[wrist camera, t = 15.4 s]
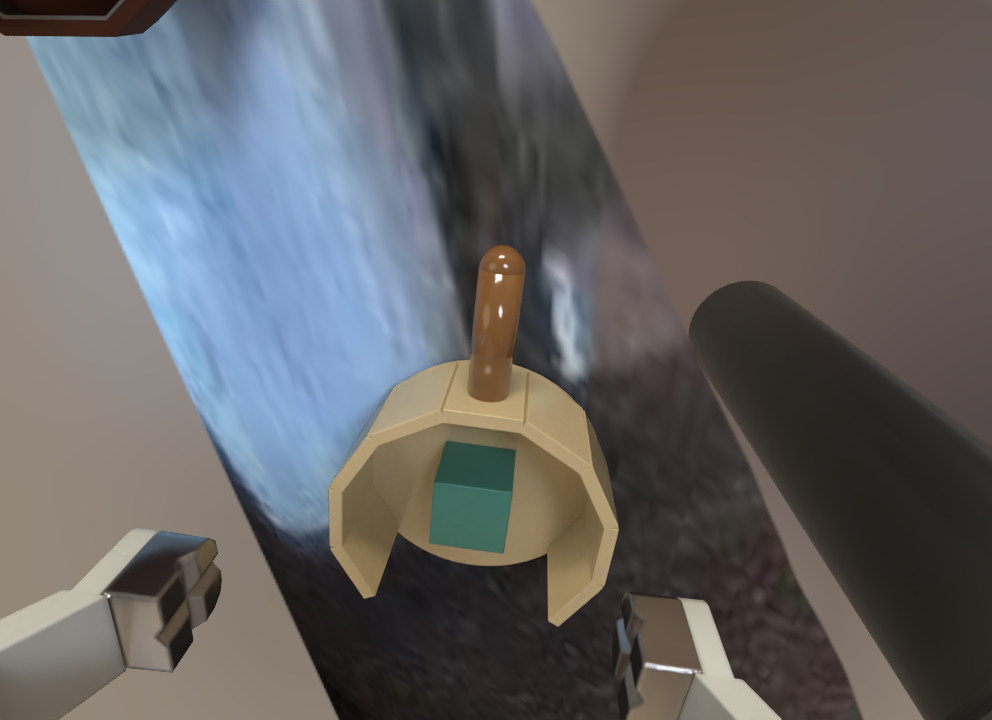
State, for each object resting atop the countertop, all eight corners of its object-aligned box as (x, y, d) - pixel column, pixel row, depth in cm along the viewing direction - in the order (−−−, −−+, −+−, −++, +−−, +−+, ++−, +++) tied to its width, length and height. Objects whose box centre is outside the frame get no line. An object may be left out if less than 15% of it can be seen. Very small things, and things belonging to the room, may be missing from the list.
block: (516, 449, 31) (512, 493, 27) (508, 506, 33) (503, 554, 29) (446, 439, 31) (433, 482, 27) (441, 496, 33) (428, 544, 29)
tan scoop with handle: (653, 247, 26) (682, 280, 21) (579, 573, 35) (586, 658, 29) (367, 211, 27) (322, 234, 21) (363, 542, 35) (330, 620, 30)
